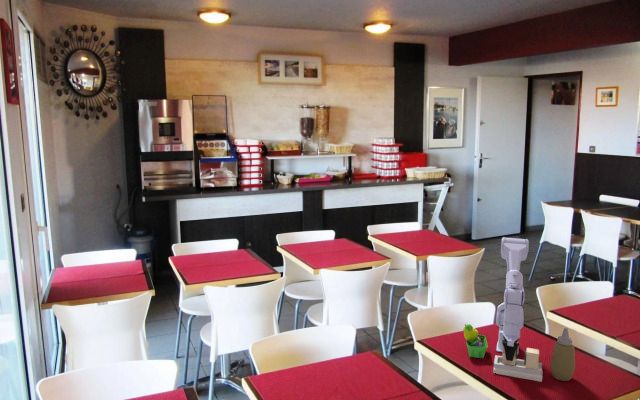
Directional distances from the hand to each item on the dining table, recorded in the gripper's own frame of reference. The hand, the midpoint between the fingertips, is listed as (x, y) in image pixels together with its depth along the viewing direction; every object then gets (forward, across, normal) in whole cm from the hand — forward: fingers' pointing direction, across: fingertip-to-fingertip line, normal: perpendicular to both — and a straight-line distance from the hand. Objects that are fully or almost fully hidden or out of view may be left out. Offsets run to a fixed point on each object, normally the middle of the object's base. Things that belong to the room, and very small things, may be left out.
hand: (509, 357), depth 190 cm
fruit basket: (+5, -10, -13) cm, 17 cm away
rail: (+5, 0, +3) cm, 5 cm away
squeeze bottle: (+5, -1, +18) cm, 18 cm away
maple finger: (+2, 0, 0) cm, 2 cm away
